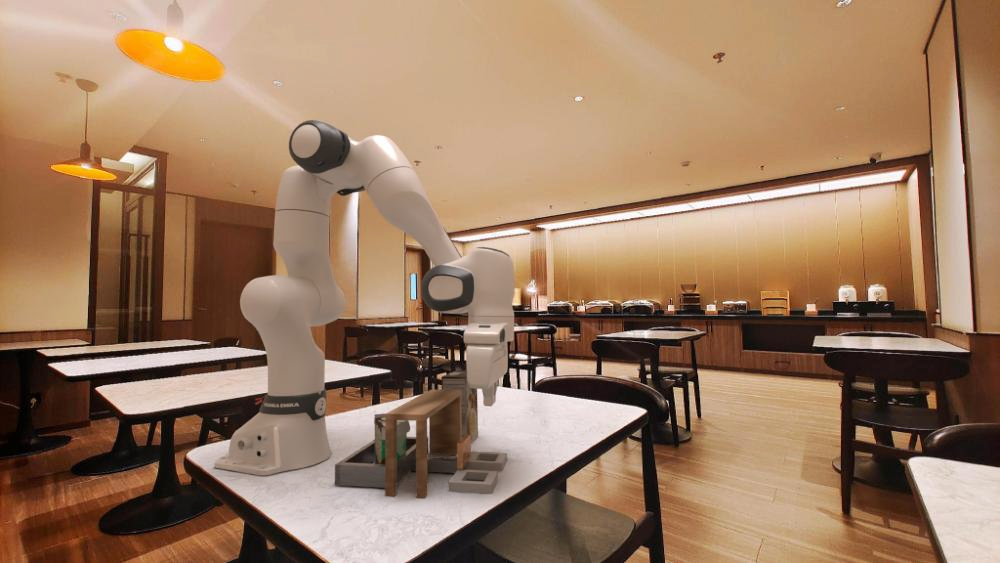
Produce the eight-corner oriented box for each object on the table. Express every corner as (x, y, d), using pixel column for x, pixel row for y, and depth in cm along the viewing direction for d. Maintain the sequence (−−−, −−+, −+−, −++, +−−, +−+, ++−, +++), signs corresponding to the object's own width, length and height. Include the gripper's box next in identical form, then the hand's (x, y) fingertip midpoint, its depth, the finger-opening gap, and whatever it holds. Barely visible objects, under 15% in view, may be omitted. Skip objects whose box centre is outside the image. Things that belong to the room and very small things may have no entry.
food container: (416, 479, 76) (416, 424, 77) (381, 486, 73) (382, 428, 74) (404, 458, 87) (404, 410, 88) (373, 463, 85) (374, 413, 85)
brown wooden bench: (385, 495, 69) (385, 413, 70) (431, 451, 91) (431, 389, 92) (424, 498, 68) (424, 414, 69) (462, 453, 90) (461, 390, 91)
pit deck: (448, 491, 70) (448, 482, 71) (471, 458, 86) (471, 451, 86) (491, 493, 69) (491, 484, 69) (507, 460, 85) (506, 452, 85)
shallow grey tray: (334, 484, 74) (335, 448, 74) (380, 452, 91) (380, 423, 91) (453, 491, 70) (453, 453, 70) (478, 456, 87) (477, 426, 87)
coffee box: (453, 435, 103) (453, 370, 104) (478, 436, 102) (477, 370, 103) (441, 447, 94) (440, 376, 95) (468, 448, 93) (467, 376, 94)
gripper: (486, 328, 90) (485, 393, 89) (460, 333, 70) (458, 416, 69) (515, 329, 89) (514, 394, 88) (497, 334, 69) (495, 419, 68)
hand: (489, 404), depth 78 cm, fingers closed
